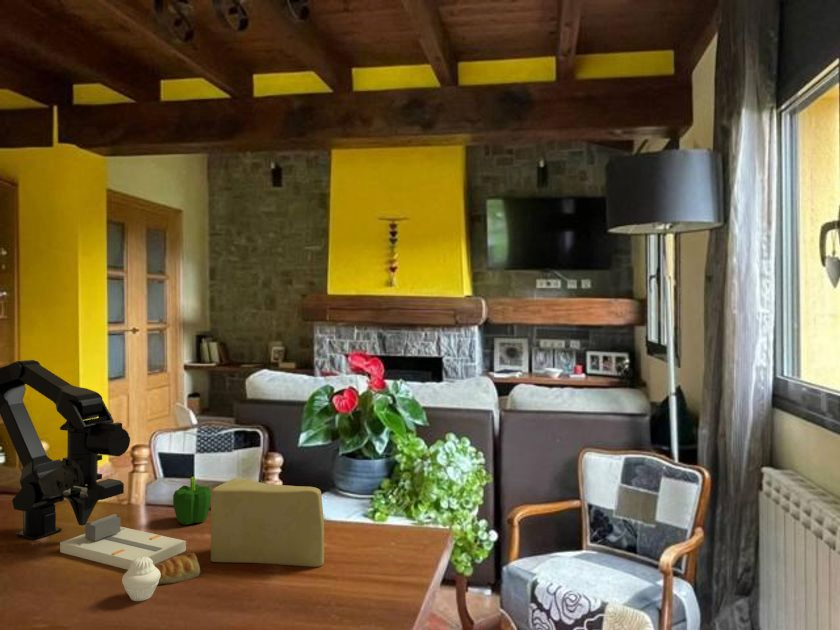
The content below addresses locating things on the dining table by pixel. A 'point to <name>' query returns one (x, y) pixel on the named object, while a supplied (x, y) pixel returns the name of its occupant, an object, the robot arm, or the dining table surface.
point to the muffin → (141, 579)
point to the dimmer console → (124, 547)
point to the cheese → (267, 524)
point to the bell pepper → (192, 503)
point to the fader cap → (102, 527)
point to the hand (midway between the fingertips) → (82, 524)
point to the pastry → (178, 568)
